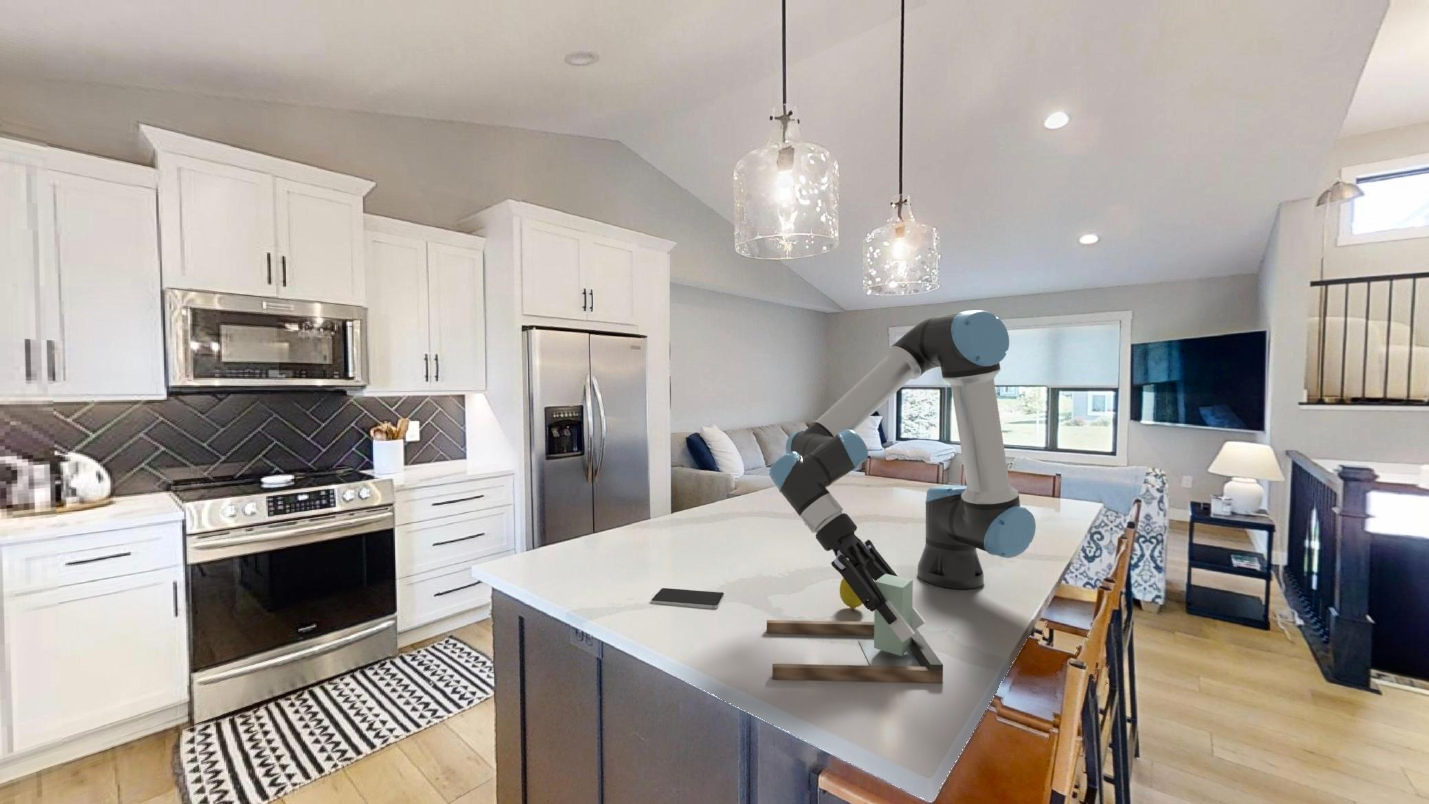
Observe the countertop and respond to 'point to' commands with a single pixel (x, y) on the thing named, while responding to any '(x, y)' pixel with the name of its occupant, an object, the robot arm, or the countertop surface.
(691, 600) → the smartphone
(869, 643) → the track
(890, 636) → the block
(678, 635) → the countertop surface
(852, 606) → the lemon
